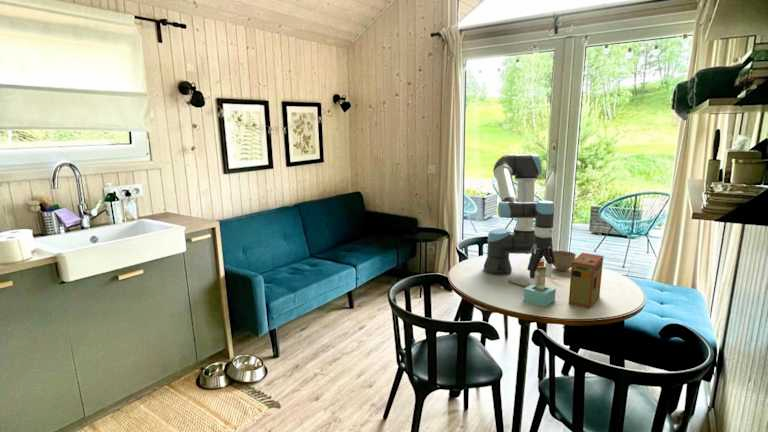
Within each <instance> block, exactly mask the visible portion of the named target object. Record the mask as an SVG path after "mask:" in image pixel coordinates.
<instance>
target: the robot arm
mask: <svg viewBox="0 0 768 432" xmlns="http://www.w3.org/2000/svg"><path fill="white" fill-rule="evenodd" d="M542 168H543V167H542V160H541V158H540V156H539V155H538V154H537V153H508V154H504V155H503V156H501V157H500V158H498V160H497V161H496V162H495V164H494V166H493V170H492V171H493V176H494V178H495V179H496V182H497V187H498V193H499V197H500V201H499V202H498V205H497V215H498V217H499V218H503V219H504V218H506V219H516V226H515V227H514V228H513V232H512V231H511V229H508V228H497V229H493V230H490V231H489V233H488V234H487V235H488V236H487V252H486V253H487V255H486V256H487V257H486V259H485V262H484V264H483V272H485V273H487V274H490V275H492V276H506V275H510V274H511V273H513V272H512V270H513V268H512V264H511V261H510V254H526V255H529V254H531V255H530V256H531V258H530V257H529V258H530V260H529V262H528V264H527V265H528V266H527V268H526V269H527V271H529V285H536V278H537V271H536V269H537V267H538V264H539V262H540V260H541V259H542V258H543V257H544V258H545V262H544V267H546V276H545V278H549V279H551V278H552V266H553V264H554V262H553V261H555V258H554V253H553V251H554V249H553V233H554V229H553V228H554V219H555V217H554V216H555V211H556V210H555V203H554V202H553V201H550V200H535V182H536V181H537V180H538V179H539V178H538V177H539V176H541V175H542ZM513 177H514V180H515V181H516V182H517V192H516V189H515V185H514V181H513ZM534 219H535V221H534ZM534 222H535V223H534Z"/></svg>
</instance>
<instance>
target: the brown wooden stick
mask: <svg viewBox="0 0 768 432" xmlns="http://www.w3.org/2000/svg"><path fill="white" fill-rule="evenodd" d="M507 282H508V283H509V284H513V285H515V286H519V287H522V288H526V287H528V286H529V285H526V284H522V283H519V282H514V281H511V280H508V281H507Z"/></svg>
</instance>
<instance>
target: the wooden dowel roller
mask: <svg viewBox="0 0 768 432" xmlns="http://www.w3.org/2000/svg"><path fill="white" fill-rule="evenodd" d="M536 271H537V278H536V285H535V290H538V291H542V292H543V291H545V286H546V277H545V276H546V267H545V266H544V267H543V266H538V267H537V269H536Z"/></svg>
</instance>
